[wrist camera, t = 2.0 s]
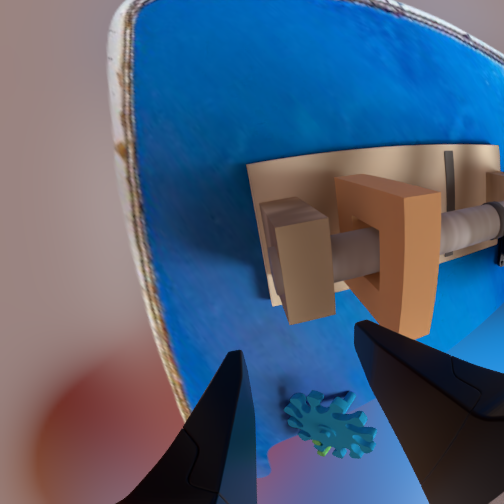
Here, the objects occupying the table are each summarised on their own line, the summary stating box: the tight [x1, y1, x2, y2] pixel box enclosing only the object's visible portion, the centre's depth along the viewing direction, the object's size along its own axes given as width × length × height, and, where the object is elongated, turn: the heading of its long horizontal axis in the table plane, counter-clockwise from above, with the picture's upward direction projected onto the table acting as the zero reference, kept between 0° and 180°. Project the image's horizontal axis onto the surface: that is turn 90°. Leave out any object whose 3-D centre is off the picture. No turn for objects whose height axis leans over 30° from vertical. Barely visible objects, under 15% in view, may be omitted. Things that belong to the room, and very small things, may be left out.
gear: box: [284, 390, 377, 458], centre depth 24 cm, size 11×6×10 cm
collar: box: [334, 174, 441, 340], centre depth 14 cm, size 2×7×8 cm, turn 10°
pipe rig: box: [246, 144, 504, 325], centre depth 17 cm, size 24×10×7 cm, turn 100°
